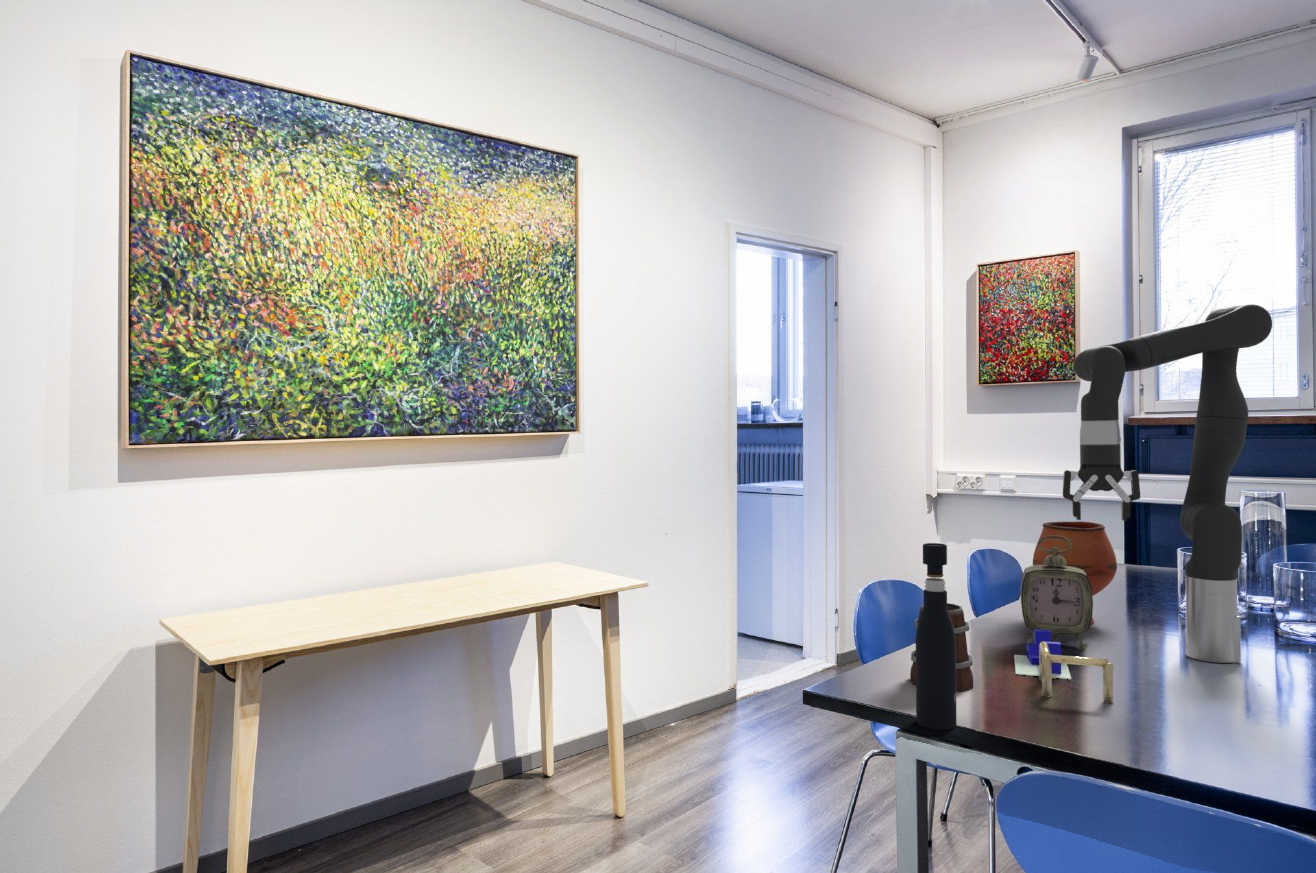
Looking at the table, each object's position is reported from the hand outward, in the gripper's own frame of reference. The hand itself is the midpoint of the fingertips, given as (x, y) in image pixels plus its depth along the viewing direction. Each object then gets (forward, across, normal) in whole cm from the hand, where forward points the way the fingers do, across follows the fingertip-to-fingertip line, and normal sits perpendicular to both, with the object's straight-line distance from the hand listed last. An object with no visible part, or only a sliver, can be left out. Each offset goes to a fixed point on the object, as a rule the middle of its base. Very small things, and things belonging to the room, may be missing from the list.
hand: (1101, 519), depth 175 cm
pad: (+30, +12, +8) cm, 33 cm away
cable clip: (+30, +12, +7) cm, 33 cm away
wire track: (+30, +7, +23) cm, 38 cm away
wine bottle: (+30, +30, +50) cm, 66 cm away
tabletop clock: (+30, +8, -13) cm, 34 cm away
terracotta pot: (+30, +2, -40) cm, 50 cm away
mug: (+30, +30, +24) cm, 49 cm away
